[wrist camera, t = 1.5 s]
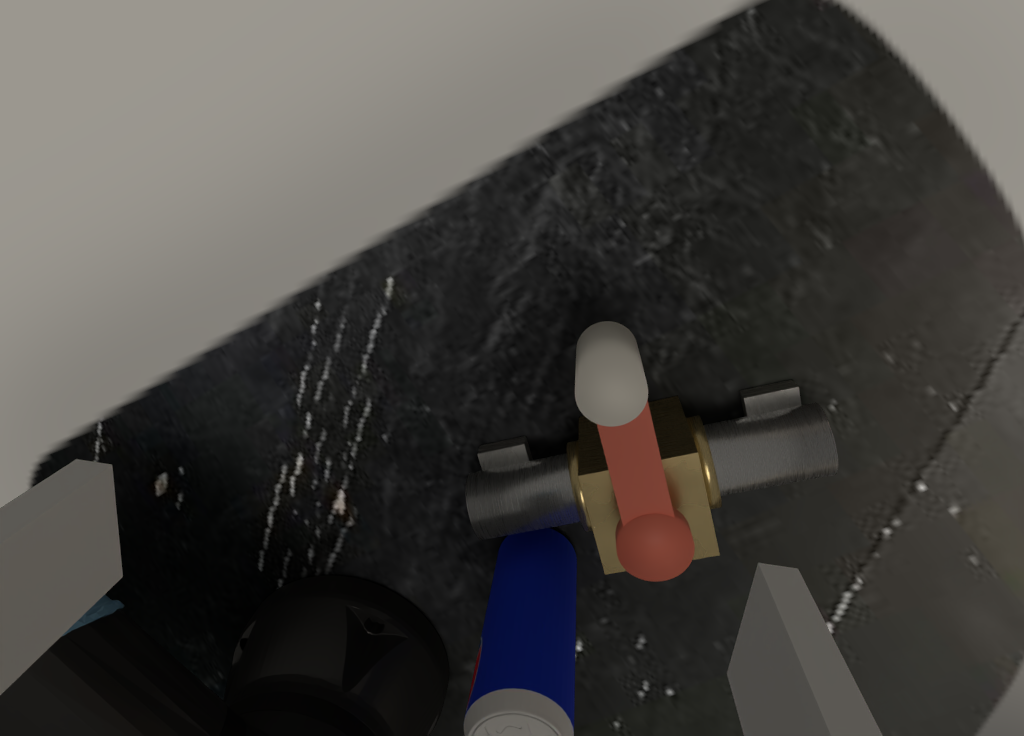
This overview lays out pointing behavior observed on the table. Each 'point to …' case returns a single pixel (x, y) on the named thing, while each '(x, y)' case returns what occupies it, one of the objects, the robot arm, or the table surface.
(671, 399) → the valve
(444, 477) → the table surface
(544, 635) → the beverage can
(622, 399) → the lever
